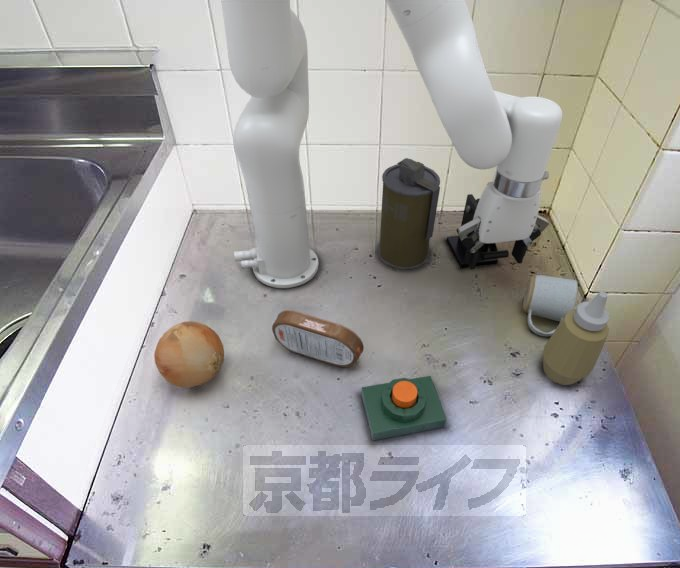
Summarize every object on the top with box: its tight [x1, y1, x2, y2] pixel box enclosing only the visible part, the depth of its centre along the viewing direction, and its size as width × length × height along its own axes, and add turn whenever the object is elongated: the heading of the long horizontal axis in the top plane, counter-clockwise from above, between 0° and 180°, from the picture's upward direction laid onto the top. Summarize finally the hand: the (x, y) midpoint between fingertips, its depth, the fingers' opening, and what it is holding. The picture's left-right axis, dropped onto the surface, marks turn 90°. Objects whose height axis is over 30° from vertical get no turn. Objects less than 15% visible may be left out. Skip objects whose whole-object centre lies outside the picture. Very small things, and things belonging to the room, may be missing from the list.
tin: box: [271, 309, 364, 368], centre depth 75 cm, size 15×3×8 cm, turn 71°
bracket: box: [445, 193, 499, 269], centre depth 94 cm, size 9×8×13 cm
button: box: [392, 381, 417, 408], centre depth 69 cm, size 4×4×2 cm
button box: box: [361, 375, 447, 441], centre depth 70 cm, size 11×8×4 cm
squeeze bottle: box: [542, 291, 610, 386], centre depth 72 cm, size 8×8×18 cm
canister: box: [377, 157, 441, 270], centre depth 90 cm, size 11×10×20 cm
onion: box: [153, 320, 225, 388], centre depth 71 cm, size 10×10×10 cm
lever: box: [475, 197, 510, 260], centre depth 89 cm, size 12×5×2 cm, turn 13°
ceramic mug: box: [522, 274, 579, 337], centre depth 84 cm, size 11×8×8 cm
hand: (493, 261), depth 89 cm, fingers open, 9 cm apart
